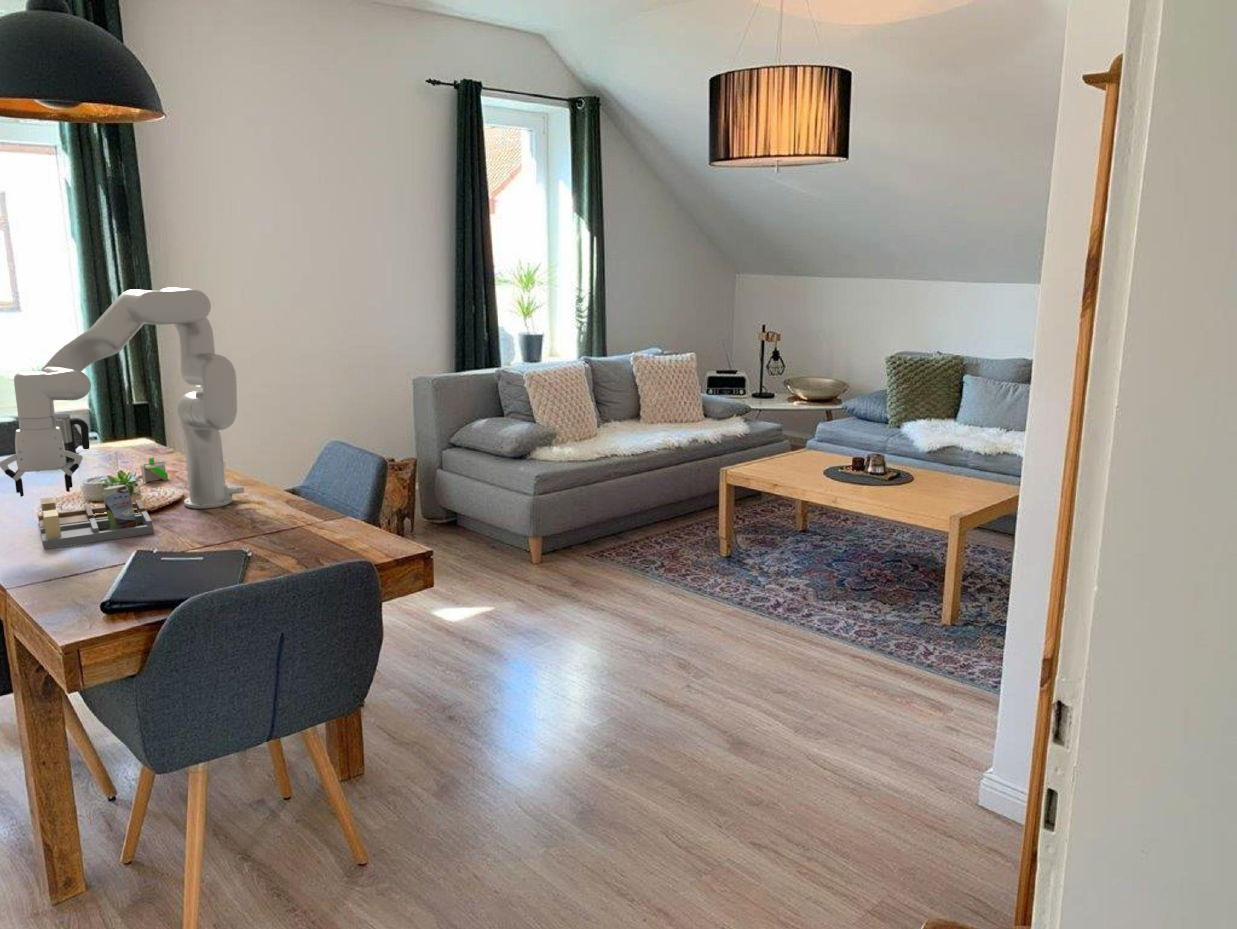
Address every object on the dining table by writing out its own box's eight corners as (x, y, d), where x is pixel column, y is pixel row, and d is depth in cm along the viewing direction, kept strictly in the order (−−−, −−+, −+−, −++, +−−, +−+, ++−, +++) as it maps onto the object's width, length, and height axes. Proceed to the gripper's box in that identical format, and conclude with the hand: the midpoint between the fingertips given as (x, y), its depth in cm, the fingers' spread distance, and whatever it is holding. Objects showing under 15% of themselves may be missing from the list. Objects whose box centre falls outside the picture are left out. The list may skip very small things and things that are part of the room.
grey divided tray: (147, 520, 250) (144, 495, 248) (153, 533, 240) (150, 506, 238) (41, 535, 237) (37, 508, 235) (43, 549, 227) (39, 521, 226)
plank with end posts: (140, 508, 260) (137, 484, 259) (146, 520, 250) (143, 494, 249) (38, 522, 248) (35, 496, 246) (41, 534, 238) (37, 507, 236)
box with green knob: (171, 481, 290) (168, 456, 288) (147, 485, 285) (144, 460, 284) (166, 479, 293) (163, 454, 291) (142, 483, 288) (139, 457, 286)
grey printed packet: (126, 536, 238) (121, 489, 235) (100, 533, 239) (95, 488, 236) (143, 528, 244) (138, 483, 241) (118, 526, 245) (112, 481, 242)
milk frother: (53, 465, 307) (47, 420, 304) (28, 458, 316) (22, 414, 312) (96, 456, 319) (91, 413, 315) (72, 450, 327) (66, 408, 324)
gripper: (77, 418, 234) (84, 485, 238) (-6, 423, 225) (2, 493, 228) (80, 423, 228) (87, 492, 232) (-6, 429, 219) (3, 500, 222)
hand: (45, 492), depth 230 cm, fingers open, 9 cm apart
